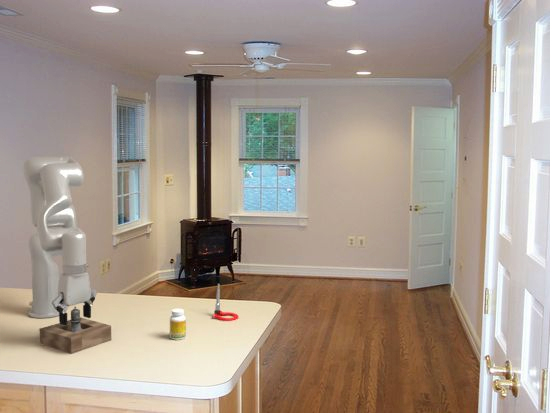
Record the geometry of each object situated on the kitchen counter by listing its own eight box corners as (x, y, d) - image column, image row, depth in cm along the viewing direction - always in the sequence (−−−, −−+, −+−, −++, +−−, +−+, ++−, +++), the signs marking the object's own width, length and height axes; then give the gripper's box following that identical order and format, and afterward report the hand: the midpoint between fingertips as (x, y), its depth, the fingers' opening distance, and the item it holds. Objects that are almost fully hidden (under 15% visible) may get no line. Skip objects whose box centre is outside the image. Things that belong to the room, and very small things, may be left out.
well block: (39, 343, 196) (39, 328, 195) (79, 331, 209) (79, 317, 209) (71, 353, 187) (71, 338, 187) (111, 340, 200) (111, 325, 200)
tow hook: (241, 317, 230) (219, 313, 233) (243, 284, 229) (221, 281, 232) (233, 323, 223) (210, 319, 226) (234, 289, 221) (212, 286, 224)
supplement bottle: (167, 336, 205) (167, 309, 204) (183, 334, 208) (183, 307, 207) (172, 341, 201) (172, 313, 200) (187, 339, 203) (187, 311, 202)
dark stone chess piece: (79, 345, 195) (78, 309, 194) (62, 343, 196) (62, 308, 195) (88, 339, 201) (88, 304, 199) (72, 338, 202) (71, 303, 200)
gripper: (88, 263, 205) (89, 312, 207) (44, 272, 190) (45, 325, 192) (103, 266, 201) (104, 316, 203) (59, 275, 186) (60, 329, 188)
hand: (75, 320), depth 197 cm, fingers open, 9 cm apart
